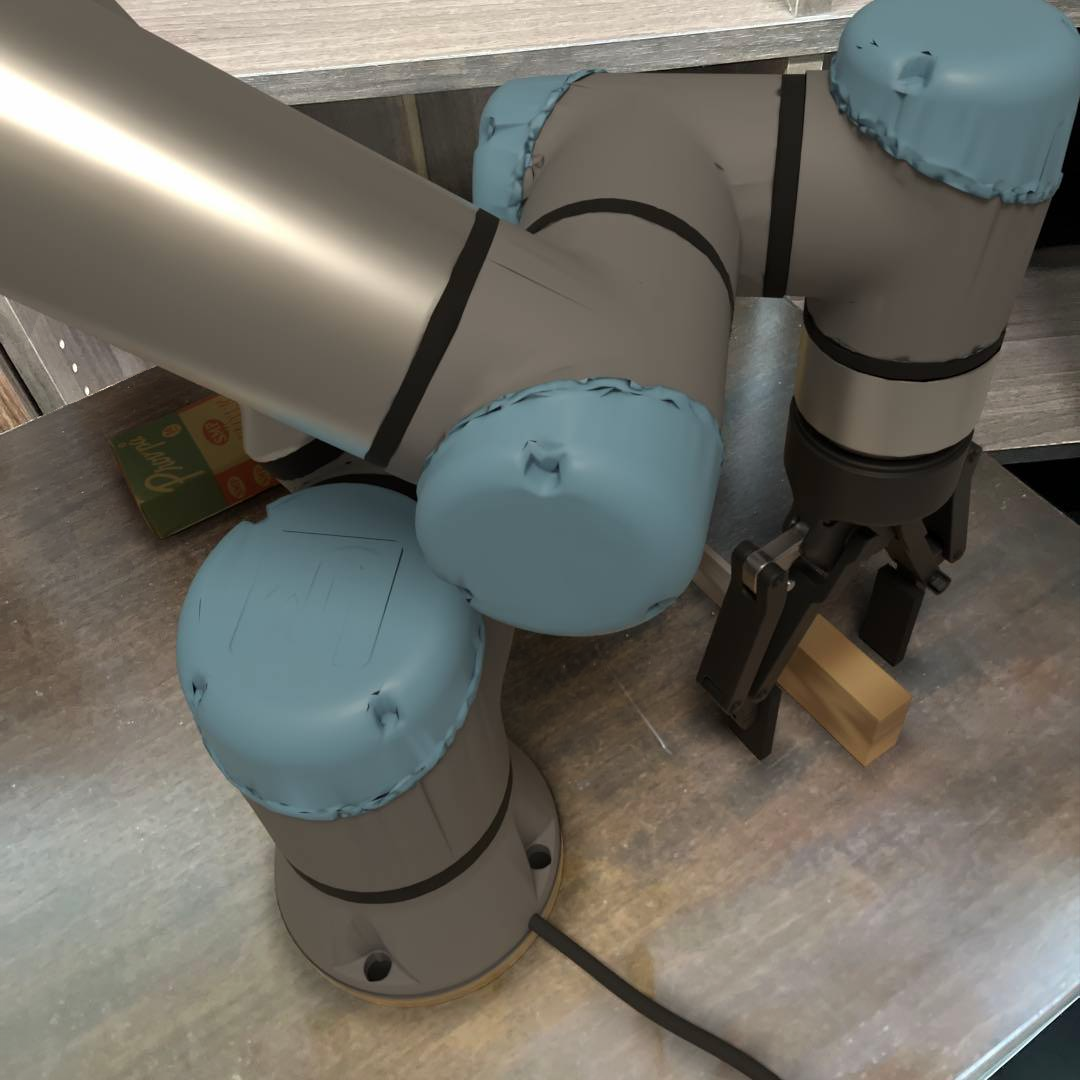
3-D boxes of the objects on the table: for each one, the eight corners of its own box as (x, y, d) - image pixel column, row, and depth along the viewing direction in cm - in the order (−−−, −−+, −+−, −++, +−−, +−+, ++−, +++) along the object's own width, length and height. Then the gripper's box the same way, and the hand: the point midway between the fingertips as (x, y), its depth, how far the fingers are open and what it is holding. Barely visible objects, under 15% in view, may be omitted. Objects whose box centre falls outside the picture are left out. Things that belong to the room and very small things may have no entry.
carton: (357, 451, 76) (344, 409, 73) (157, 544, 71) (133, 503, 68) (315, 393, 81) (301, 352, 78) (124, 477, 76) (101, 436, 73)
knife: (896, 743, 56) (913, 696, 52) (864, 767, 55) (879, 720, 51) (672, 535, 67) (673, 483, 64) (642, 552, 67) (642, 501, 63)
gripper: (991, 264, 47) (903, 563, 64) (614, 473, 40) (626, 748, 57) (1134, 338, 43) (999, 639, 59) (738, 588, 36) (712, 849, 52)
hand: (817, 692), depth 58 cm, fingers open, 10 cm apart
